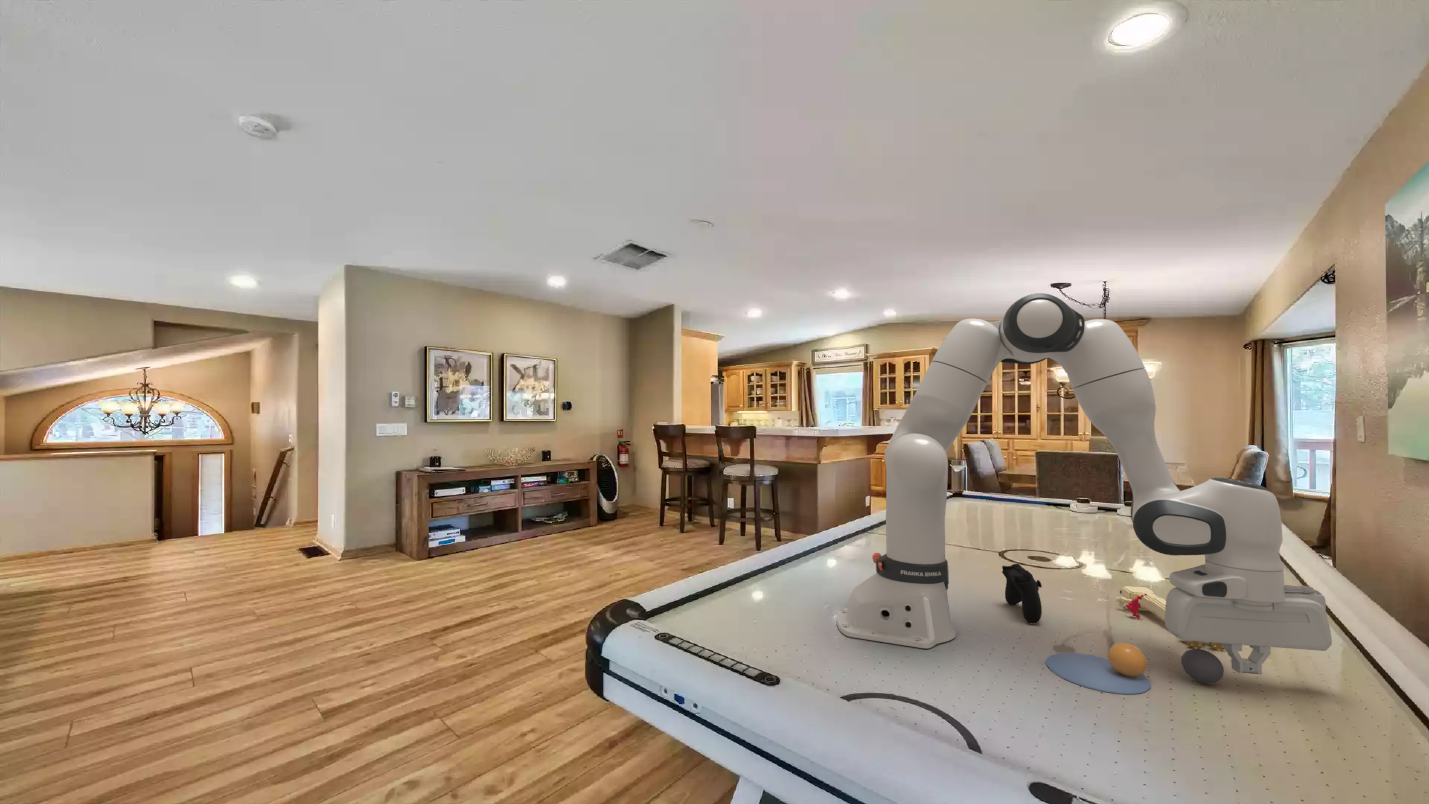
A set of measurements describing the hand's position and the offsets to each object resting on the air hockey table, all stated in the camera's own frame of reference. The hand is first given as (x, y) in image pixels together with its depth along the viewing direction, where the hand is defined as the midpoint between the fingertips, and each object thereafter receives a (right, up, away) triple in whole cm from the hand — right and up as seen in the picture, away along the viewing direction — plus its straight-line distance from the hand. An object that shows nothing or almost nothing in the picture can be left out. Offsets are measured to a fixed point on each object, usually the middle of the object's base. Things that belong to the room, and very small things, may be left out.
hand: (1246, 672), depth 83 cm
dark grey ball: (-6, 0, +1) cm, 6 cm away
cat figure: (+8, -4, +25) cm, 27 cm away
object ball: (-16, 0, +3) cm, 16 cm away
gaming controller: (-17, -4, +31) cm, 36 cm away
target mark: (-20, -2, +4) cm, 21 cm away
